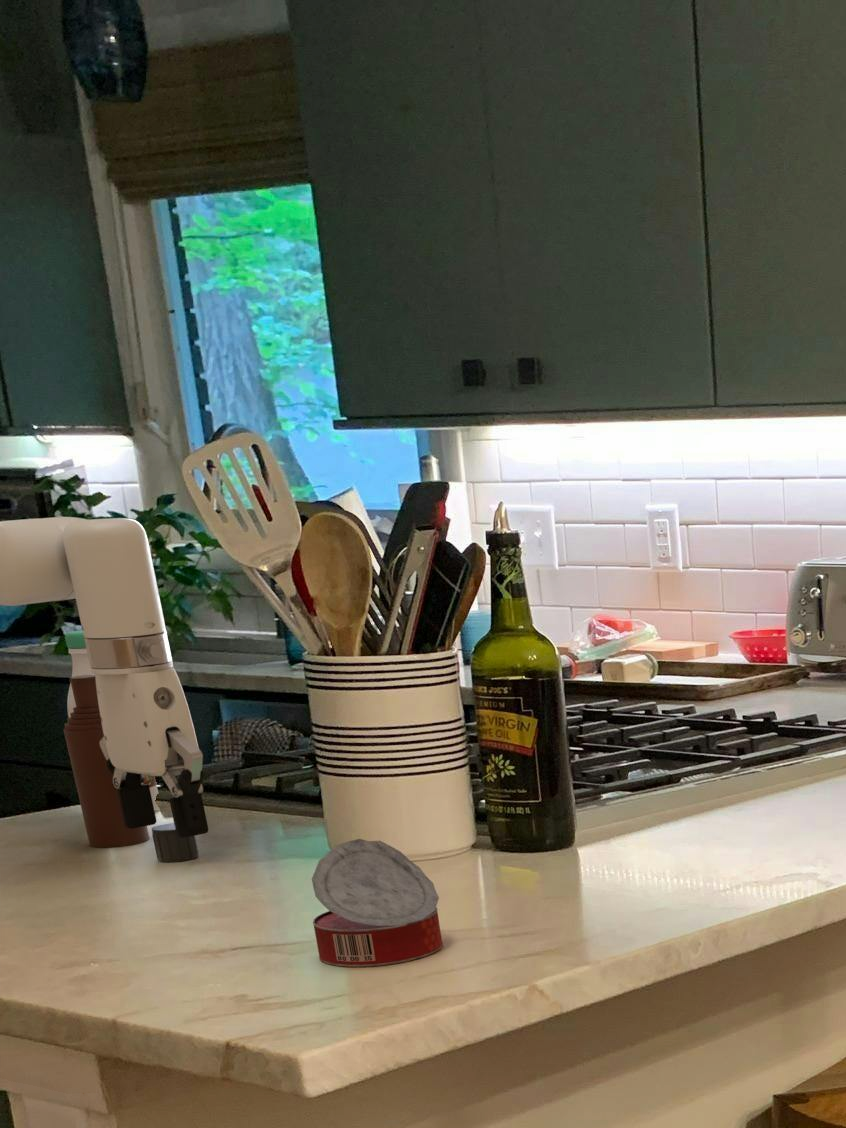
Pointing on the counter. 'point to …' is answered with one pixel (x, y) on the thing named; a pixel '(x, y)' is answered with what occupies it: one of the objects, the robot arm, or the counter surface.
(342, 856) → the canned food
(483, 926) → the counter surface
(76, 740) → the sauce bottle
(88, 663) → the milk bottle
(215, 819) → the counter surface
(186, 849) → the cap
